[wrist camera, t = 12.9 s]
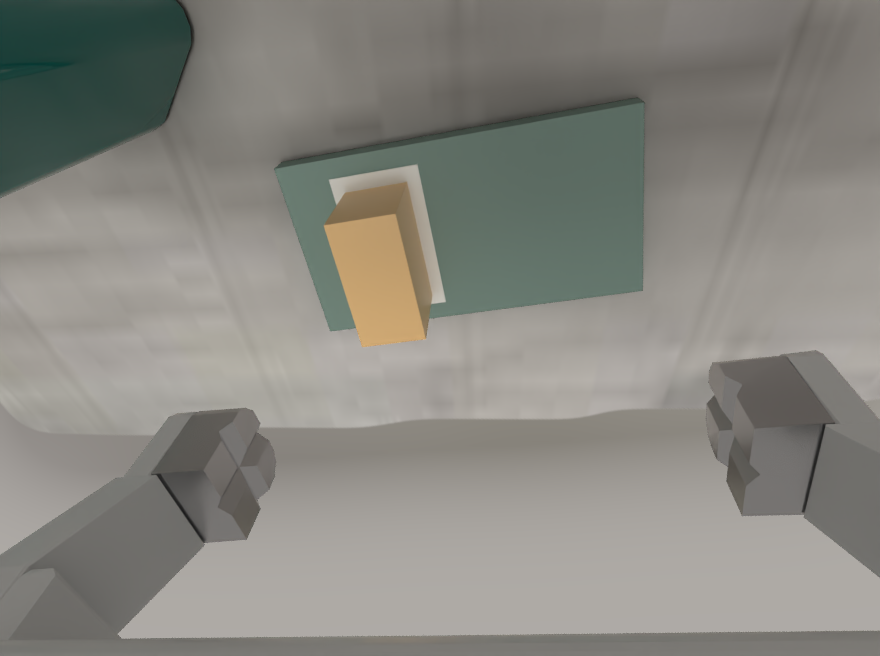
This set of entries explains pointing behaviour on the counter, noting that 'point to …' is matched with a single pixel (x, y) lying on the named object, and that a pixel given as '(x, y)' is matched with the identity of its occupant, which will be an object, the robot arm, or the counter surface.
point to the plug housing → (381, 264)
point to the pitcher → (83, 79)
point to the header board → (495, 208)
